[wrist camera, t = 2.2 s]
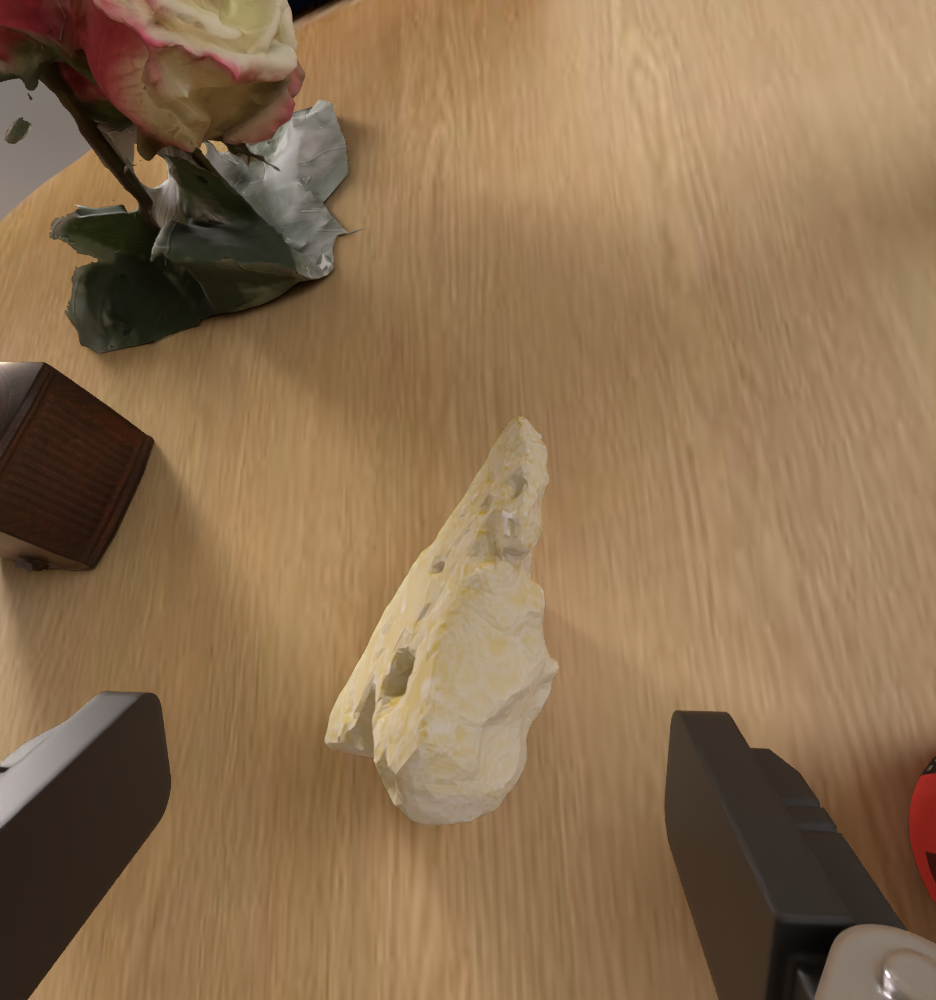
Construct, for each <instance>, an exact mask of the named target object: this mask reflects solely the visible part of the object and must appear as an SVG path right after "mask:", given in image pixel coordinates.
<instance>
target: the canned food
mask: <svg viewBox="0 0 936 1000" xmlns="http://www.w3.org/2000/svg"><path fill="white" fill-rule="evenodd" d="M909 826H910V842H911V846H912V850H913V854H914V858H915V861H916V865H917V868H918V871H919V873H920V875H921V877H922V879H923V882H924V884H925V886H926V888H927V891H928V893H929V894H930V896H931V897H932V899H933V900H934V902H935V903H936V757H934V758H933V759H932V760H931V762H930V763H929V765H928V766H927V767H926V769H925V770H924V771H923V773H922V774H921V776H920V778H919V780H918V783H917V785H916V788H915V790H914V793H913V795H912V801H911V808H910V815H909Z"/></svg>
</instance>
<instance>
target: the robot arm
mask: <svg viewBox="0 0 936 1000" xmlns="http://www.w3.org/2000/svg"><path fill="white" fill-rule="evenodd" d="M170 789H171V774H170V767H169V759H168V752H167V744H166V737H165V729H164V722H163V714H162V707H161V703H160V700H159V699H158V697H157V696H156V695H155V694H153V693H147V692H114V691H105V692H101V693H99V694H98V695H96V696H95V697H94V698H93V699H91V700H90V701H89V702H88V703H87V704H85V705H84V706H83V707H82V708H81V709H79V710H78V711H77V712H76V713H75V714H73V715H72V716H71V717H70V718H69V719H68V720H66V721H65V722H64V723H62V724H60V725H58V726H56V727H54V728H52V729H50V730H48V731H46V732H44V733H43V734H41V735H39V736H37V737H35V738H33V739H31V740H29V741H27V742H25V743H24V744H23V745H22V746H20V747H19V748H18V749H17V750H15V751H14V752H13V753H12V754H10V755H9V756H8V757H7V758H6V759H4V760H3V761H2V762H1V763H0V1000H28V998H29V997H30V996H31V994H32V993H33V992H34V990H35V989H36V988H37V986H38V985H39V984H40V982H41V981H42V980H43V978H44V977H45V976H46V974H47V973H48V971H49V970H50V969H51V967H52V966H53V965H54V963H55V962H56V961H57V959H58V958H59V957H60V955H61V954H62V953H63V951H64V950H65V949H66V947H67V946H68V944H69V943H70V942H71V940H72V939H73V938H74V936H75V935H76V934H77V932H78V931H79V930H80V928H81V927H82V926H83V924H84V923H85V922H86V920H87V919H88V917H89V916H90V915H91V913H92V912H93V911H94V909H95V908H96V907H97V905H98V904H99V903H100V901H101V900H102V899H103V897H104V896H105V895H106V893H107V892H108V890H109V889H110V888H111V886H112V885H113V884H114V882H115V881H116V880H117V878H118V877H119V876H120V874H121V873H122V872H123V870H124V869H125V868H126V866H127V865H128V863H129V862H130V861H131V859H132V858H133V857H134V855H135V854H136V853H137V851H138V850H139V849H140V847H141V846H142V845H143V843H144V842H145V841H146V839H147V838H148V836H149V835H150V834H151V832H152V831H153V830H154V828H155V827H156V826H157V824H158V823H159V821H160V820H161V818H162V816H163V814H164V812H165V809H166V806H167V804H168V800H169V796H170ZM665 822H666V830H667V836H668V841H669V845H670V849H671V852H672V855H673V858H674V861H675V864H676V867H677V871H678V874H679V877H680V880H681V883H682V886H683V889H684V892H685V895H686V899H687V902H688V905H689V908H690V911H691V914H692V917H693V920H694V924H695V927H696V930H697V933H698V936H699V939H700V942H701V945H702V948H703V952H704V955H705V958H706V961H707V964H708V967H709V970H710V973H711V977H712V980H713V983H714V986H715V989H716V992H717V995H718V998H719V1000H936V944H935V943H933V942H931V941H930V940H928V939H926V938H923V937H921V936H919V935H916V934H914V933H912V932H909V931H907V929H906V928H905V926H904V925H903V923H902V922H901V920H900V919H899V918H898V916H897V915H896V913H895V912H894V910H893V909H892V907H891V906H890V904H889V903H888V901H887V900H886V899H885V897H884V896H883V894H882V893H881V891H880V890H879V888H878V887H877V885H876V884H875V882H874V881H873V879H872V878H871V877H870V875H869V874H868V872H867V871H866V869H865V868H864V866H863V865H862V863H861V862H860V860H859V859H858V857H857V856H856V855H855V853H854V852H853V850H852V849H851V847H850V846H849V844H848V843H847V841H846V840H845V838H844V837H843V835H842V834H841V833H837V830H836V825H835V824H834V822H833V821H832V819H831V818H830V816H829V815H828V814H827V812H826V811H825V809H824V808H821V807H820V803H819V800H818V799H817V797H816V796H815V794H814V793H813V792H812V790H811V789H810V787H809V786H808V784H807V783H806V781H805V780H804V778H803V777H802V775H801V774H800V773H799V772H798V771H797V770H795V769H794V768H793V767H791V766H790V765H789V764H788V763H786V762H785V761H784V760H782V759H781V758H780V757H779V756H777V755H776V754H775V753H773V752H772V751H771V750H770V749H759V748H750V747H749V745H748V744H747V742H746V740H745V739H744V737H743V735H742V734H741V732H740V730H739V729H738V727H737V725H736V724H735V722H734V720H733V719H732V717H731V716H730V714H728V713H727V712H713V711H681V710H676V711H675V712H674V713H673V715H672V719H671V726H670V738H669V751H668V763H667V776H666V788H665Z"/></svg>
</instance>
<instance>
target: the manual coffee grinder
mask: <svg viewBox="0 0 936 1000" xmlns="http://www.w3.org/2000/svg"><path fill="white" fill-rule="evenodd" d="M153 444H154V440H153V438H152V437H150V436H148V435H146V434H145V433H144V432H142V431H141V430H140V429H138V428H137V427H136V426H134V425H133V424H132V423H130V422H129V421H128V420H126V419H125V418H124V417H122V416H121V415H120V414H118V413H117V412H115V411H114V410H113V409H111V408H110V407H109V406H107V405H106V404H104V403H103V402H102V401H100V400H99V399H97V398H96V397H95V396H93V395H92V394H90V393H89V392H88V391H86V390H85V389H83V388H82V387H80V386H79V385H78V384H76V383H75V382H73V381H72V380H70V379H69V378H68V377H66V376H65V375H63V374H62V373H60V372H59V371H58V370H56V369H55V368H53V367H52V366H50V365H48V364H47V363H45V362H0V558H3V559H7V560H10V561H14V562H16V567H18V568H22V569H25V570H28V571H41V570H43V569H51V568H55V569H64V570H85V569H94V568H95V566H96V565H97V563H98V562H99V560H100V558H101V557H102V555H103V554H104V552H105V550H106V549H107V547H108V546H109V544H110V542H111V541H112V539H113V538H114V536H115V534H116V532H117V530H118V528H119V525H120V523H121V521H122V519H123V517H124V515H125V513H126V510H127V508H128V506H129V504H130V502H131V500H132V498H133V495H134V493H135V491H136V489H137V487H138V485H139V483H140V480H141V478H142V476H143V474H144V471H145V468H146V465H147V462H148V459H149V456H150V453H151V450H152V447H153Z"/></svg>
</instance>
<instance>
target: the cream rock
mask: <svg viewBox="0 0 936 1000" xmlns="http://www.w3.org/2000/svg"><path fill="white" fill-rule="evenodd" d="M541 438H542V435H541V434H540V433H538V432H537V431H536V430H535V429H534V427H533V426H532V425H531V424H530V422H529V421H528V420H527V419H526V418H524V417H522V416H516V417H514V418H513V419H512V420H511V421H510V422H509V423H508V424H507V425H506V427H505V428H504V430H503V431H502V434H501V435H500V436H499V438H498V439H497V441H496V442H495V443H494V445H493V446H492V448H491V449H490V452H489V456H488V459H487V460H486V462H485V464H484V465H483V466H482V467H481V468H480V470H479V471H478V473H477V475H476V476H475V478H474V480H473V482H472V484H471V485H470V487H469V489H468V491H467V493H466V494H465V496H464V497H463V499H462V500H461V502H460V503H459V504H458V506H457V507H456V508H455V510H454V511H453V512H452V514H451V515H450V517H449V518H448V520H447V521H446V523H445V524H444V526H443V527H442V529H441V530H440V532H439V534H438V536H437V537H436V539H435V541H434V542H433V544H432V545H431V546H429V547H428V548H426V549H425V550H424V551H422V552H421V554H420V556H419V557H418V559H417V560H416V561H415V563H414V564H413V565H412V567H411V569H410V571H409V573H408V575H407V577H406V578H405V579H404V581H403V583H402V584H401V586H400V587H399V589H398V591H397V593H396V594H395V596H394V598H393V600H392V601H391V603H390V604H389V605H388V606H387V607H386V609H385V611H384V613H383V615H382V617H381V619H380V621H379V623H378V625H377V627H376V629H375V631H374V633H373V635H372V637H371V639H370V641H369V643H368V646H367V648H366V650H365V652H364V654H363V655H362V657H361V659H360V660H359V662H358V664H357V665H356V667H355V669H354V671H353V673H352V675H351V677H350V678H349V680H348V682H347V684H346V686H345V687H344V689H343V690H342V691H341V693H340V694H339V696H338V698H337V701H336V703H335V705H334V707H333V710H332V712H331V714H330V718H329V723H328V728H327V733H326V736H325V739H324V743H326V744H327V746H328V747H329V748H330V749H331V750H334V751H337V752H344V753H347V754H352V755H355V756H361V757H370V758H374V763H375V765H376V768H377V771H378V773H379V776H380V778H381V780H382V782H383V784H384V786H385V788H386V790H387V791H388V793H389V796H390V798H391V800H392V802H393V803H394V805H395V806H396V807H397V808H398V809H399V810H400V811H401V812H403V813H404V814H405V815H406V816H407V818H409V819H411V820H412V821H413V822H416V823H419V824H423V825H435V826H438V825H452V824H456V823H463V822H472V821H473V820H475V819H476V818H477V817H481V816H484V815H487V814H489V813H491V812H493V811H495V810H496V809H497V808H498V807H499V806H500V804H501V802H502V801H503V799H504V797H505V796H506V794H507V793H508V792H509V791H511V790H512V789H513V787H514V786H515V784H516V783H517V781H518V780H519V778H520V776H521V773H522V771H523V769H524V767H525V764H526V761H527V747H526V739H527V735H528V731H529V729H530V726H531V724H532V722H533V721H534V720H535V719H536V717H537V716H538V714H539V713H540V711H541V709H542V707H543V705H544V703H545V701H546V699H547V698H548V696H549V694H550V692H551V682H552V680H553V679H554V678H555V676H556V674H557V671H558V669H559V666H558V663H557V661H556V660H555V659H553V658H551V657H550V655H549V653H548V650H547V647H546V645H545V641H544V635H543V630H542V624H543V616H544V608H545V601H544V592H543V590H542V588H541V587H540V586H539V585H538V584H537V583H535V582H533V581H531V567H532V549H533V547H534V546H535V545H536V543H537V542H538V540H539V537H540V535H541V534H542V500H543V496H544V492H545V488H546V485H547V484H548V482H549V474H548V471H547V468H546V463H547V456H548V451H547V448H546V446H545V444H544V443H543V442H542V441H541Z"/></svg>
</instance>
